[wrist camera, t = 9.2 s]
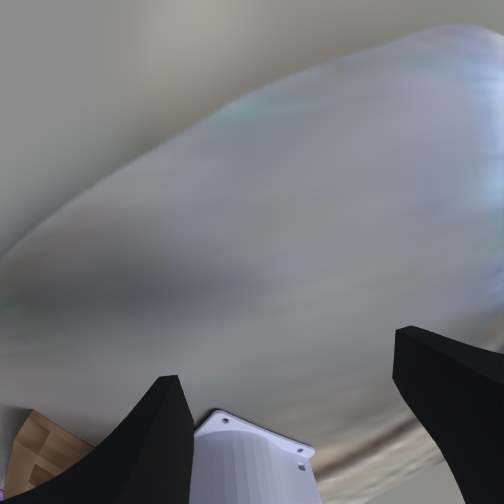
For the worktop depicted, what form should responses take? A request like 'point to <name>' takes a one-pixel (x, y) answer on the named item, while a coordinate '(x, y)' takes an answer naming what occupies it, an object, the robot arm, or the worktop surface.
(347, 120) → the worktop surface
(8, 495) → the socket block
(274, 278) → the worktop surface
